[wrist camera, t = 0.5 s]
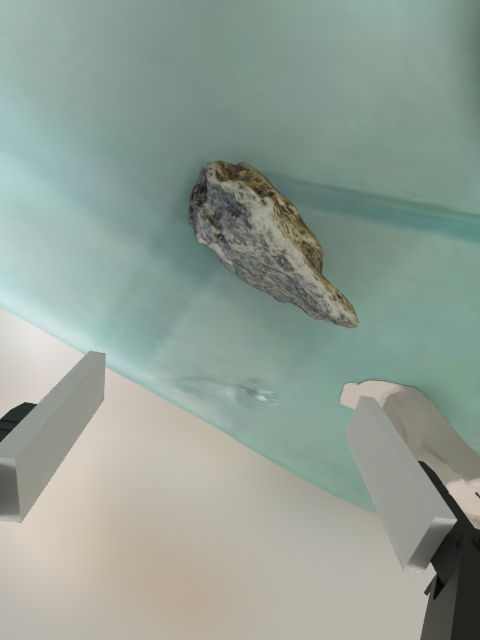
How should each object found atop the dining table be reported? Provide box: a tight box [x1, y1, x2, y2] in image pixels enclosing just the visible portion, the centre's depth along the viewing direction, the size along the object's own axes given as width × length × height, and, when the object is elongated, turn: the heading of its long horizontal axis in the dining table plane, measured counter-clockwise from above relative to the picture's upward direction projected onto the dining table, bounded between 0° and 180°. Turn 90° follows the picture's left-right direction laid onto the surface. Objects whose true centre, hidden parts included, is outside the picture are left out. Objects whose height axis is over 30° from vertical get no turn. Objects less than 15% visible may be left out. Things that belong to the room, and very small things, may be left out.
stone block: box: [188, 161, 359, 328], centre depth 30 cm, size 18×9×20 cm, turn 49°
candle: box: [340, 380, 480, 529], centre depth 39 cm, size 7×14×20 cm, turn 76°
